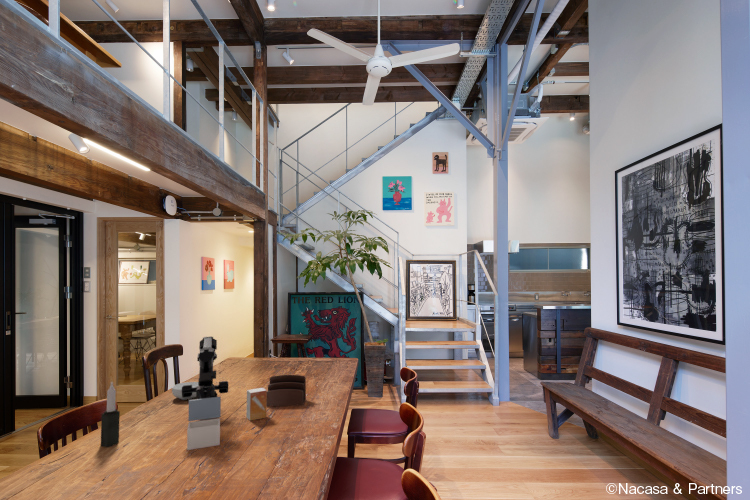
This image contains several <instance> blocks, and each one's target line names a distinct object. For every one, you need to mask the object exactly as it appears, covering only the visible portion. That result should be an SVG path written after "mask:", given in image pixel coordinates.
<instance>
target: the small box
mask: <svg viewBox="0 0 750 500" xmlns="http://www.w3.org/2000/svg"><path fill="white" fill-rule="evenodd" d="M267 391H268V389H266V388H264V387H258V388H252V389H247V390H246V418H247V419H248V420H249V421H255V420H260V419H266V418H267V408H268V406H267Z"/></svg>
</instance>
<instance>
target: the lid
mask: <svg viewBox="0 0 750 500" xmlns="http://www.w3.org/2000/svg"><path fill="white" fill-rule="evenodd" d="M221 401H222V399H221V396H217V397H213V398H203V399H197V398H196V399H188V417H187V418H188V422H195V421H203V420H210V419H218V418H221V413H222V412H221V408H222V405H221V404H222V403H221Z"/></svg>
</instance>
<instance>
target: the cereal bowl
mask: <svg viewBox="0 0 750 500" xmlns="http://www.w3.org/2000/svg"><path fill="white" fill-rule="evenodd" d="M183 385H192V388H195V387H197V386H199V385H198V381H186V382H181V383H177V384H174V385H173V386H172V387H171V392H172V395H173V396H174V397H175V398H177V399H180V400H182V401H184V400H185V401H186V400H187V399H188V400H193V399H195V398H197V397H196V392H194V393H192V396H191V397H185V398H183V397H182V387H183ZM192 398H193V399H192ZM188 400H187V401H188Z"/></svg>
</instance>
